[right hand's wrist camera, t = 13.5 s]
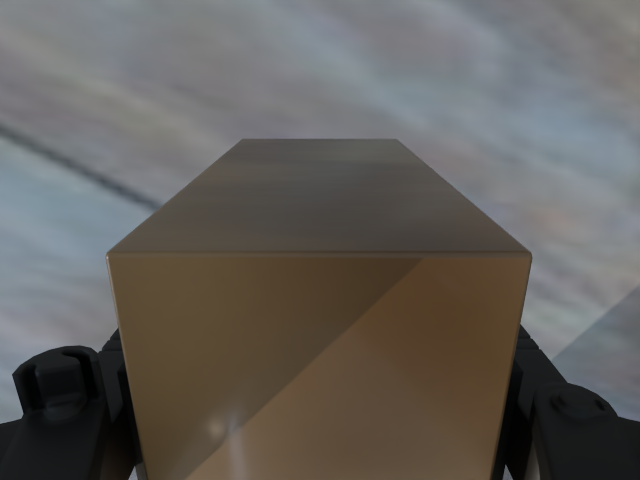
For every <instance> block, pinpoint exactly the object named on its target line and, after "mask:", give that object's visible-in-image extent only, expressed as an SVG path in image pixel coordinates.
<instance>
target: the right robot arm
mask: <svg viewBox="0 0 640 480" xmlns="http://www.w3.org/2000/svg"><path fill="white" fill-rule="evenodd" d="M12 376H13V379H14V383H15V386H16V389H17V393H18V396H19V400H20V403H21V406H22V410H23V413H24V414H23V416H22V419H19V420H15V421H11V422H7V423H2V424H0V480H128V479H129V477H130V475H131V473H132V470H133V468H134V466H135V468H136V473H137V478H138V480H147V478H146V473H145V468H144V462H143V457H142V451H141V446H140V441H139V435H138V430H137V425H136V419H135V414H134V408H133V403H132V398H131V392H130V387H129V381H128V376H127V371H126V365H125V360H124V354H123V349H122V344H121V338H120V333H119V327H118V329H117V330H116V331H115V333H114V334H113V335H112V336H111V338H110V340H108V341H107V343H106V344H105V345H104V346H103V348H102V351H99V353H97V352H96V351H94V350H93V349H92V348H89V347H85V346H80V345H79V346H64V347H60V348H55V349H51V350H48V351H46V352H43V353H41V354H38V355H36V356H34V357H32V358H30V359H29V360H27V361H26V362H24V363H23V364H21V365H20V366H19V367H18V368H17V369H16V371H15V372H14V373H13V374H12ZM505 464H506V465H507V468H508V470H509V472H510V474H511V476H512V478H513V480H640V422H638V421H634V420H629V419H625V418H622V417H618V416H617V414H616V412H615V411H614V409H613V408H612V407H611V405H610V404H609V403H608V402H607V401H605V400H604V399H603V398H601V397H600V396H599V395H597V394H596V393H594V392H592V391H590V390H588V389H585V388H583V387H581V386H577V385H574V384H570V383H567V381H566V380H565V379H564V378H563V376H562V375H561V374H560V373H559V371H558V370H557V369H556V368H555V366H554V365H553V364H552V363H551V361H550V360H549V359H548V358H547V356H546V355H545V354H544V353H543V351H542V350H541V349H539V346H538V345H537V344H536V343H535V341H534V340H533V339H530V335H529V334H528V333H527V332H526V330H525V329H524V328H523V327H522V325H521V324H520V328H519V333H518V339H517V344H516V350H515V355H514V361H513V366H512V371H511V377H510V382H509V388H508V393H507V399H506V404H505V409H504V415H503V420H502V426H501V431H500V437H499V442H498V448H497V453H496V458H495V464H494V469H493V475H492V480H503V474H504V469H505Z"/></svg>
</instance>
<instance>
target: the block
mask: <svg viewBox="0 0 640 480" xmlns="http://www.w3.org/2000/svg"><path fill="white" fill-rule="evenodd" d="M106 263H107V268H108V274H109V279H110V284H111V290H112V295H113V300H114V306H115V311H116V317H117V322H118V327H119V333H120V338H121V344H122V349H123V354H124V360H125V365H126V371H127V376H128V381H129V387H130V392H131V398H132V403H133V408H134V414H135V419H136V425H137V430H138V435H139V441H140V446H141V451H142V457H143V462H144V468H145V473H146V478H147V480H492V475H493V469H494V464H495V458H496V453H497V448H498V442H499V437H500V431H501V426H502V420H503V415H504V409H505V404H506V399H507V393H508V388H509V382H510V377H511V371H512V366H513V361H514V355H515V350H516V344H517V339H518V333H519V328H520V322H521V317H522V312H523V306H524V301H525V295H526V290H527V284H528V279H529V273H530V268H531V263H532V254H531V252H530V251H529V250H528V249H526V248H525V247H524V246H523V245H522V244H520V243H519V242H518V241H517V240H516V239H515V238H513V237H512V236H511V235H510V234H509V233H507V232H506V231H505V230H504V229H503V228H502V227H500V226H499V225H498V224H497V223H496V222H494V221H493V220H492V219H491V218H490V217H489V216H487V215H486V214H485V213H484V212H483V211H481V210H480V209H479V208H478V207H477V206H475V205H474V204H473V203H472V202H471V201H470V200H468V199H467V198H466V197H465V196H464V195H462V194H461V193H460V192H459V191H458V190H457V189H455V188H454V187H453V186H452V185H451V184H449V183H448V182H447V181H446V180H445V179H444V178H442V177H441V176H440V175H439V174H438V173H436V172H435V171H434V170H433V169H432V168H430V167H429V166H428V165H427V164H426V163H425V162H423V161H422V160H421V159H420V158H419V157H417V156H416V155H415V154H414V153H413V152H412V151H410V150H409V149H408V148H407V147H406V146H404V145H403V144H402V143H401V142H400V141H399V140H397V139H242V140H241V141H240V142H238V143H237V144H236V145H235V146H234V147H232V148H231V149H230V150H229V151H228V152H226V153H225V154H224V155H223V156H222V157H220V158H219V159H218V160H217V161H216V162H214V163H213V164H212V165H211V166H210V167H208V168H207V169H206V170H205V171H204V172H202V173H201V174H200V175H199V176H198V177H196V178H195V179H194V180H193V181H192V182H190V183H189V184H188V185H187V186H186V187H185V188H183V189H182V190H181V191H180V192H179V193H177V194H176V195H175V196H174V197H173V198H171V199H170V200H169V201H168V202H167V203H165V204H164V205H163V206H162V207H161V208H159V209H158V210H157V211H156V212H155V213H153V214H152V215H151V216H150V217H149V218H147V219H146V220H145V221H144V222H143V223H141V224H140V225H139V226H138V227H137V228H135V229H134V230H133V231H132V232H131V233H130V234H128V235H127V236H126V237H125V238H124V239H122V240H121V241H120V242H119V243H118V244H116V245H115V246H114V247H113V248H112V249H110V250H109V251H108V252H107V254H106Z"/></svg>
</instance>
